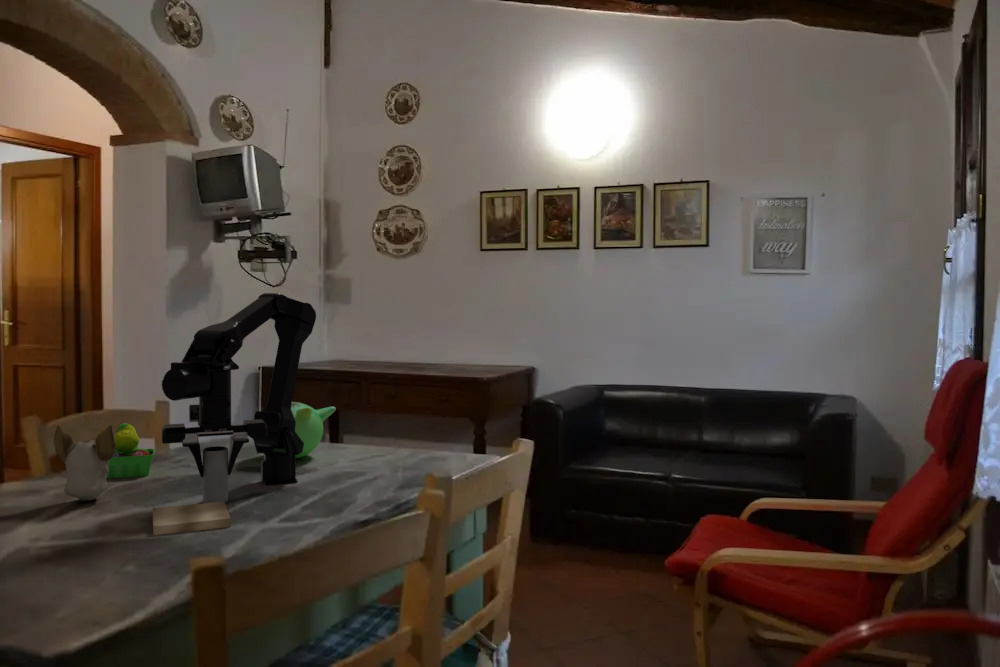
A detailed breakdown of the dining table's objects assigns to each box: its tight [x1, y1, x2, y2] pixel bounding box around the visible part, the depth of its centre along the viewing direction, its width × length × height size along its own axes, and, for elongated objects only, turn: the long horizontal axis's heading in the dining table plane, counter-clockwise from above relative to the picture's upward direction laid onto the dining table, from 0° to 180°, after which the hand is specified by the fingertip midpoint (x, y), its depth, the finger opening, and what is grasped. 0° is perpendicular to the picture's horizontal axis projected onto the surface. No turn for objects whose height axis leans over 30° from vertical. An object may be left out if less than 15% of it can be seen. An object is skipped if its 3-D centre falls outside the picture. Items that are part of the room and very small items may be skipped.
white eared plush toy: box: [53, 424, 116, 502], centre depth 142 cm, size 11×9×15 cm
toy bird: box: [291, 401, 337, 459], centre depth 184 cm, size 18×17×15 cm
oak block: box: [152, 501, 232, 536], centre depth 130 cm, size 12×12×2 cm
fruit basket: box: [106, 422, 156, 479], centre depth 164 cm, size 11×9×11 cm
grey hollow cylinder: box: [202, 445, 229, 504], centre depth 143 cm, size 4×4×10 cm
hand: (215, 475), depth 143 cm, fingers closed on grey hollow cylinder, 4 cm apart
